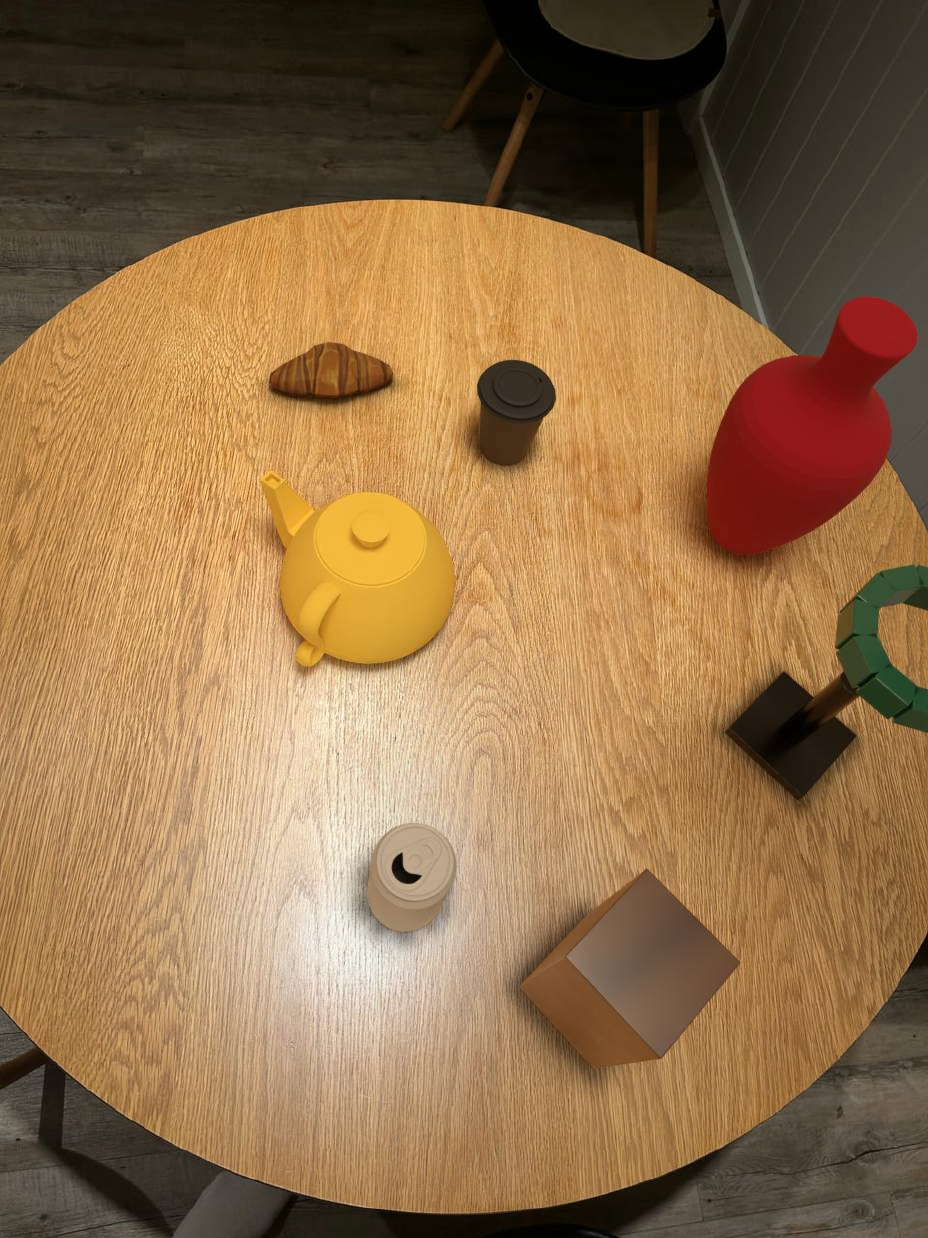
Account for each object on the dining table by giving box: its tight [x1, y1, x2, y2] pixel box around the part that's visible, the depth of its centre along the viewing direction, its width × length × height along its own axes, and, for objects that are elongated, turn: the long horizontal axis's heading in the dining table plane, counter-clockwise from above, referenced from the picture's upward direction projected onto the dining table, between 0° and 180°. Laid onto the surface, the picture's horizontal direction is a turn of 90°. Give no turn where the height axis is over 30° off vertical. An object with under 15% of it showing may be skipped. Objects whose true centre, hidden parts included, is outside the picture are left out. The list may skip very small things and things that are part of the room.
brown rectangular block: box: [518, 868, 741, 1070], centre depth 69 cm, size 8×8×18 cm
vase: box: [705, 296, 918, 556], centre depth 87 cm, size 15×15×30 cm
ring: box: [834, 564, 928, 734], centre depth 59 cm, size 10×10×2 cm
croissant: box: [268, 341, 394, 400], centre depth 101 cm, size 14×7×5 cm, turn 101°
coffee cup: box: [476, 359, 557, 467], centre depth 98 cm, size 8×8×10 cm
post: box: [724, 670, 861, 801], centre depth 84 cm, size 9×9×13 cm
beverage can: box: [366, 822, 457, 933], centre depth 74 cm, size 6×6×12 cm
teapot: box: [259, 469, 456, 668], centre depth 86 cm, size 20×19×13 cm
